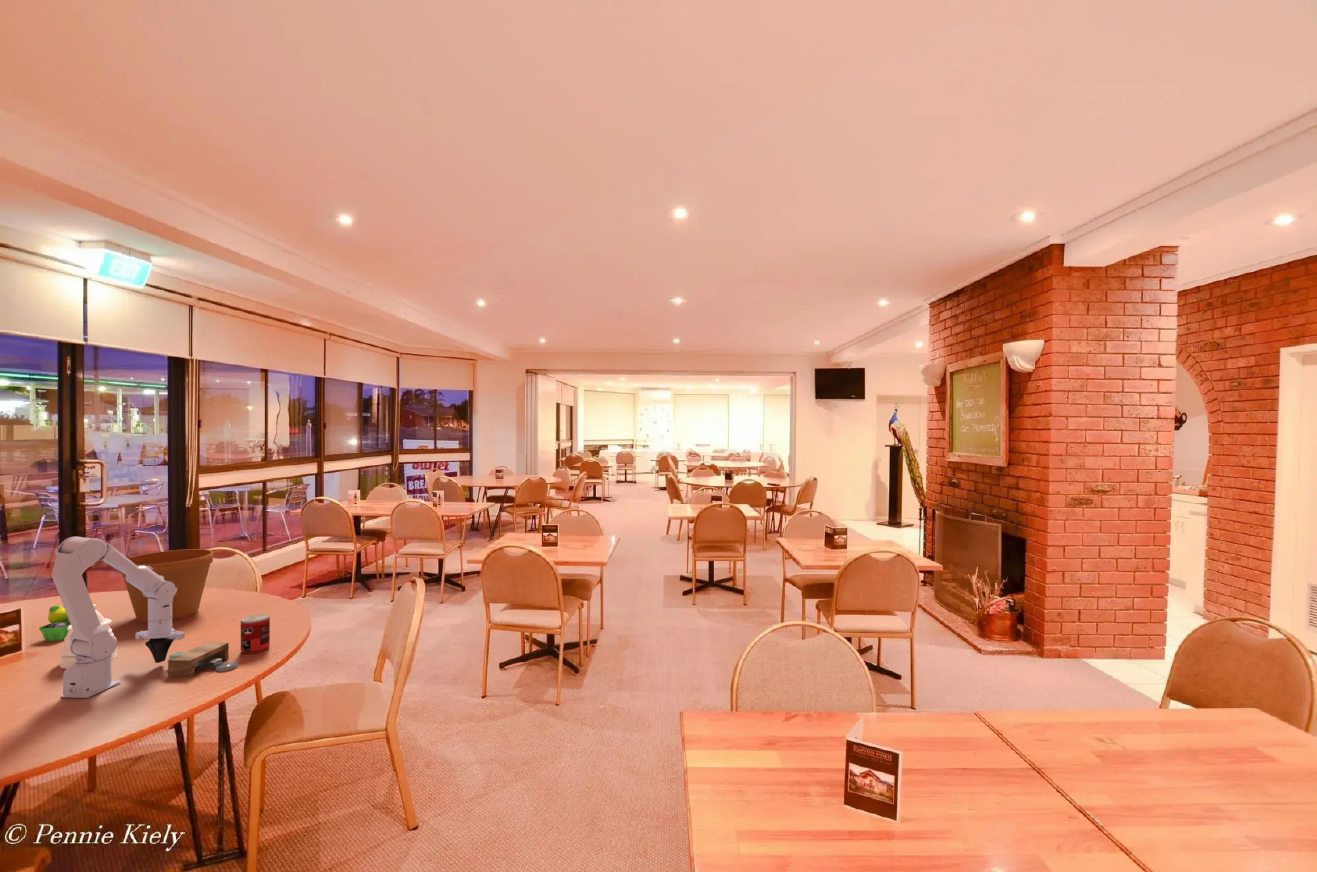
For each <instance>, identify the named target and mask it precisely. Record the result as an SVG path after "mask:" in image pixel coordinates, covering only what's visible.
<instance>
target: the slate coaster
mask: <svg viewBox="0 0 1317 872" xmlns="http://www.w3.org/2000/svg"><path fill="white" fill-rule="evenodd" d="M238 668H239V662H238V661H235V660H233V661H226V662H223V663H222V664H220V665H218V666H216V669H215V672H217V673H221V672H222V673H223V672H225V673H226V672H228V671H229V672H230V671H232V670H235V669H238Z"/></svg>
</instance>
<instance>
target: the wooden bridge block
mask: <svg viewBox="0 0 1317 872" xmlns="http://www.w3.org/2000/svg"><path fill="white" fill-rule="evenodd" d="M229 646H230V645H229V642H217V641H216V642H214V641H212V642H210V641H209V642H206V643H204V644H201V645H199V646H197V647H194V648H192V649H189V650H187V651H184V652H185V653H183V654H180V655H178V656H176V657H174V658H171V659H169V658H168V660H167V677H171V678H172V677H173V678H174V677H175V678H176V677H181V678H191V677H193V676H195V669H194V663H196V662H198V661H200V660H202V659H204V658H220V659H223V660H227V659H229V657H230V656H229V651H230V650H229Z"/></svg>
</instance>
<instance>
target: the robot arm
mask: <svg viewBox="0 0 1317 872" xmlns="http://www.w3.org/2000/svg"><path fill="white" fill-rule="evenodd" d="M54 551H55V556H56V557H55V560H54V565H53V568H52V572H51V577H52V580H53V583H54V586H55V588H56V589H57V593H58V595H59V598H60V599H61V600H60V601H61V602H62V606H63V608H65V610H66V613H67V615H68V618H69V620H70V623H71V625H72V628H73V630H74V631H73V633H72V634H71V635H70V638H71V645H70V651H71V653H72V654H74V655H76V662H75V664H74V665H73V666H71V667H69V668H68V669H66V668H65V670H64V672H63V675H62V694H61V695H60V698H74V699H80V698H81V699H86V698H90V697H92V696H94V695H96V694H99V693H101V692H103V691H106V690H108V689H110V688H112V687H115V686H116V685H118V684H121V681H119V680H112V677H113V676H112V674H113V673H112V672H113V671H112V659H111V657H112V653H113V652H114V651H115V650H116V648H117V647H118V640H117V638H116V637H115V636H114V637H115V638H116V639H115V638H114V637H112V636H111V635H110V634H109V632H108V630H107V629H106V628H105V627H104V626H102V625H101V624H100V622H99V619H98V616H97V614H96V611H95V610H96V608H95V609H94V606H93V605H94V604H93V601H92V599H91V595H90V594H89V590H88V587H87V586H86V582H85V581H84V577H83V574H84V572H86V570H87V569H88V568H89V567H91V566H92V565H93V564H95V563H96V562H98V561H102V562H104V563H106V564H107V565H109V566H110V567H112V568H114V569H115V570H118V571H119V572H120V571H121V572H122V573H124V574H126V581H127V582H129V583H130V584H132V585H133V586H135V587H136V588H138V589H139V590H141V591H142V593H143V596H144V597H147V598H148V623H147V630H141V631H138V632H135V640H141V639H149V640H148V641H146V642H145V646H146V647H147V648H148V650H149V651H150V653H151V655H152V658H153V660H154V662H155V664H160V663H162V662H164V661H166V659H167V656H168V653H169V650H170V647H171V645H172V644H173V642H174V641H175V640H176V641H181V640H183V639H185V638H186V631H181V630H175V628H174V627H173V620H172V602H173V597H174V595H175V594H176V592H177V588H175V585H174V583H172V582H170V581H164V577H163V576H161V575H160V576H159V575H158V574H156V573H155V572H153V571H152V569H153V568H152V567H151V566H144V565H142V566H137V565H135V564H134V563H133V562H132V561H130V560H129V559H128V558H129V557H127V556H125V554H123V553H121V551H119V550H117V549H116V548H115V547H114V546H113V544H110V543H108V542H107V541H105V540H103V539H102V538H99V537H96V538H95V537H94V538H93V537H92V538H91V537H83V536H78V535H77V536H71V537H68V538H65V539H64V540H63V541H62V542H61V543H60V544H59V546H58V547H56V549H55V550H54ZM150 598H151V599H150ZM117 649H118V648H117Z"/></svg>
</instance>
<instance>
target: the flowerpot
mask: <svg viewBox="0 0 1317 872" xmlns="http://www.w3.org/2000/svg"><path fill="white" fill-rule="evenodd" d="M127 558H128V559H129V560H130V561H132V562H133V563H134V564H135V565H137V566H142V565H144V566H151V567H152V568H153V569H152V571H153V572H155V573H156V574H158V575H159V576H160V575H161V576H163V577H164V581H170V582H172V583H174V585H175V588H177V592H176V594H175V595H174V597H173V602H172V621H175V620H179V619H178V618H180V619H182V618H181V617H184V618H186V617H190V616H192V615H194V614H197V613H198V611H199V608H200V605H201V601H202V597H203V593H204V589H205V585H206V582H207V577H208V575H209V574H208V573H209V571H210V566H211V564H212V563H213V561H214V552H213V551H212V550H210V549H204V548H203V549H202V548H195V549H194V548H191V549H189V548H188V549H176V550H163V551H157V552H150V553H143V554H139V555H134V556H129V557H127ZM119 574H121V575H122V578H123V580H124V583H125V587H126V590H127V593H128V596H129V599H130V602H131V603H130V604H131V606H132V608H133V609H132V610H133V612H134V616H135V618H136V621H137V622H138V621H139V623H141V622H144V624H148V623H147V622H148V598H147V597H144V596H143V593H142V591H141V590H139V589H138V588H136V587H135V586H133V585H132V584H130V583H129V582H127V581H126V574H124V573H122V572H121V571H119ZM150 599H151V598H150ZM193 613H194V614H193ZM189 615H190V616H189ZM174 619H175V620H174Z"/></svg>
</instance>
